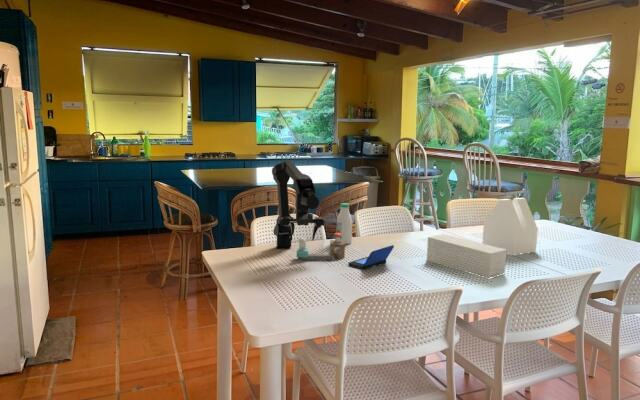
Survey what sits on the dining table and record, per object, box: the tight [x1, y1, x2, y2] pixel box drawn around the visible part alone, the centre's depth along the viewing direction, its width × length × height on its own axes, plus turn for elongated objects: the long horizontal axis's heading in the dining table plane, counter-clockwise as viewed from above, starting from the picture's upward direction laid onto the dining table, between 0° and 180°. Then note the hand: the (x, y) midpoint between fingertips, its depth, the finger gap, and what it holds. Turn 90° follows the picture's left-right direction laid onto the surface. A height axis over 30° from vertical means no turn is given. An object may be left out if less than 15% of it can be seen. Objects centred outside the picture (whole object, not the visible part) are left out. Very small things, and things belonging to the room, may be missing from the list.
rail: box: [297, 253, 335, 261], centre depth 220 cm, size 16×3×2 cm, turn 92°
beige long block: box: [426, 233, 507, 279], centre depth 212 cm, size 32×11×11 cm, turn 37°
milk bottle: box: [335, 202, 353, 245], centre depth 249 cm, size 8×8×20 cm
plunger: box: [333, 232, 341, 243], centre depth 226 cm, size 3×3×5 cm
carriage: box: [296, 237, 309, 258], centre depth 219 cm, size 5×5×8 cm
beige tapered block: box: [482, 197, 539, 256], centre depth 241 cm, size 19×15×25 cm
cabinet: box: [329, 239, 346, 259], centre depth 227 cm, size 6×8×6 cm
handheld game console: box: [347, 244, 395, 271], centre depth 212 cm, size 16×13×9 cm
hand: (302, 240), depth 219 cm, fingers open, 9 cm apart
